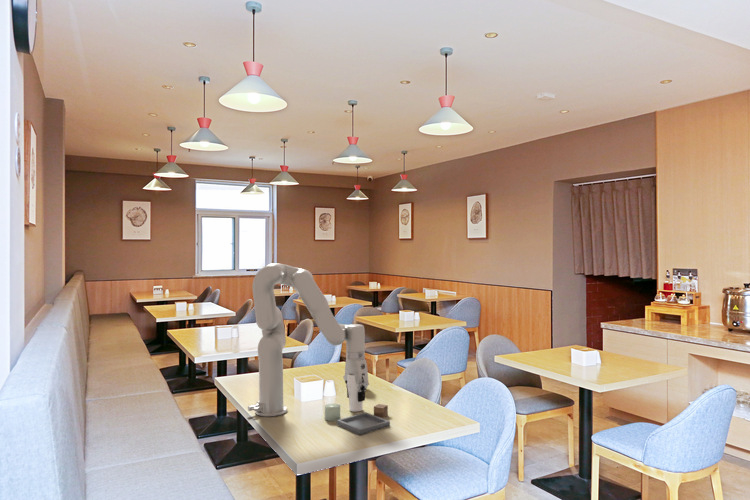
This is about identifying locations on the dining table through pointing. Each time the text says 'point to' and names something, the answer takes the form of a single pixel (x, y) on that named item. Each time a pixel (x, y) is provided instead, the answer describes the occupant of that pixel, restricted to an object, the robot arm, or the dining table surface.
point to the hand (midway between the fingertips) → (356, 398)
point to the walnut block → (381, 410)
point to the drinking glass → (354, 394)
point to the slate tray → (363, 423)
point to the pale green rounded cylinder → (332, 412)
